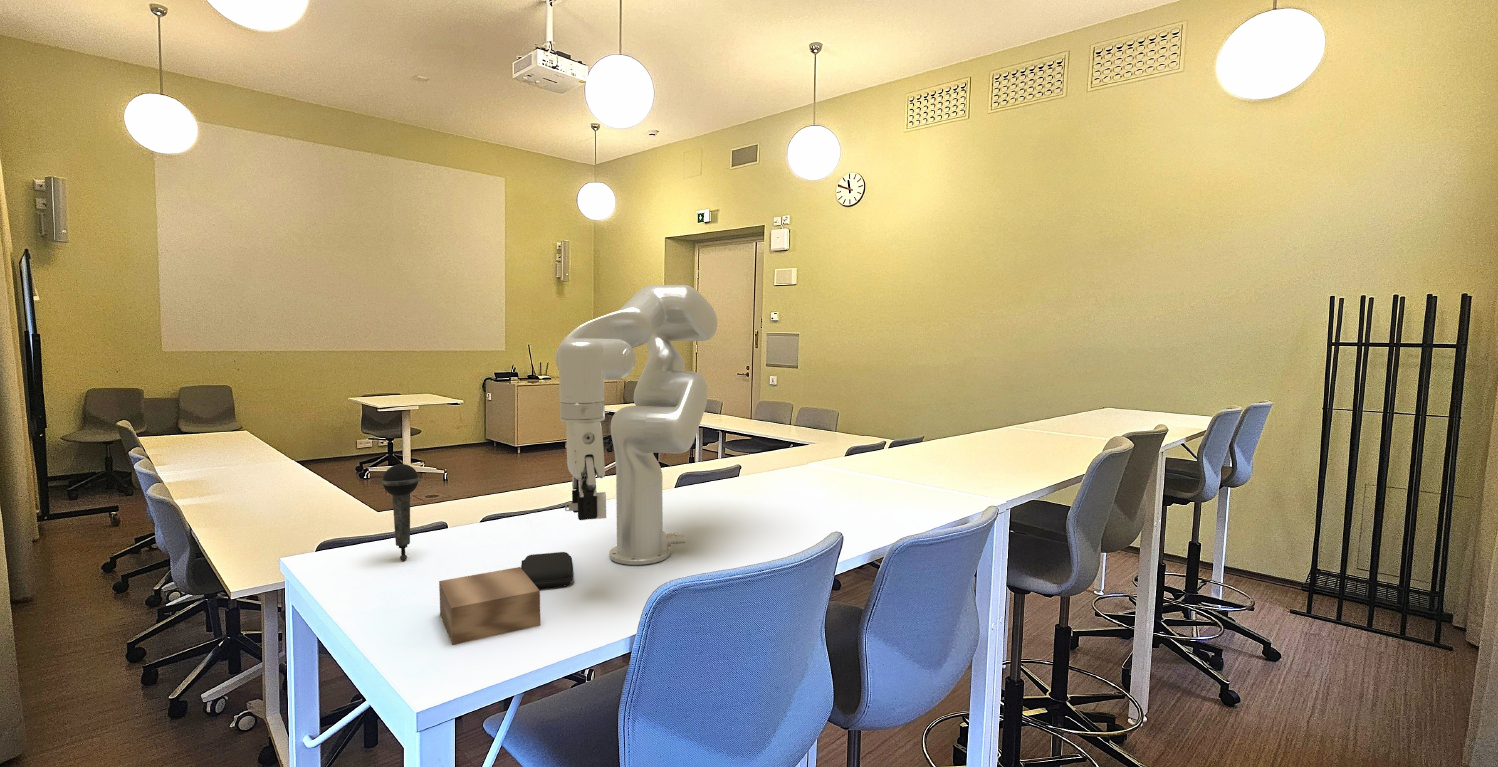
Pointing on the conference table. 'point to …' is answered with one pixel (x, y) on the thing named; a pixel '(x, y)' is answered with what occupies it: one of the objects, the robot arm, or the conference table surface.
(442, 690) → the conference table surface
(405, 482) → the microphone
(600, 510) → the usb wall charger
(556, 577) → the carrying case or bag
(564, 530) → the conference table surface
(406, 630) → the conference table surface
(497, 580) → the walnut block
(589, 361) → the robot arm
